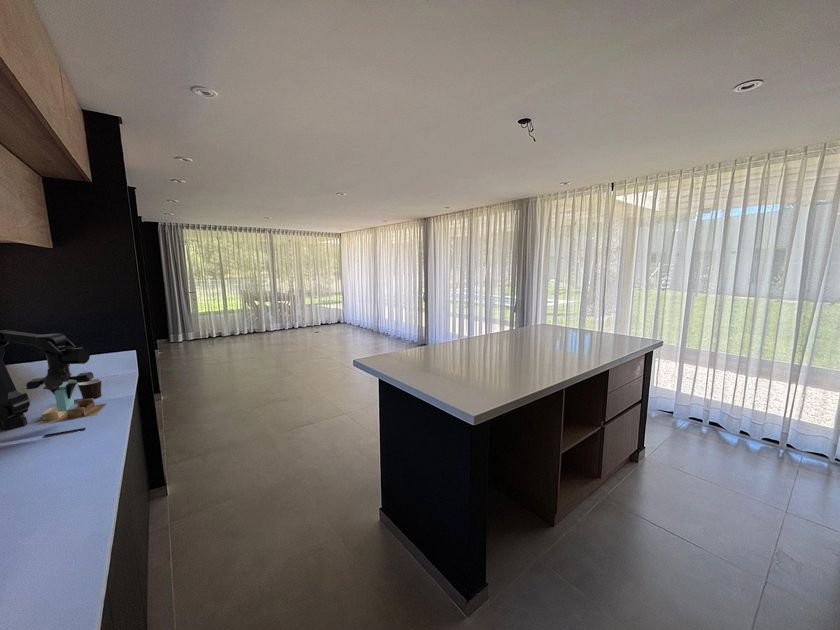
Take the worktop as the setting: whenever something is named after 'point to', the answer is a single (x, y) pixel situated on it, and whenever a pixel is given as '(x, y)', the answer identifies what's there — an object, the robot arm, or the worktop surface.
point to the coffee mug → (90, 389)
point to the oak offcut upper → (51, 412)
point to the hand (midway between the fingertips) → (64, 399)
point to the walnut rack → (78, 411)
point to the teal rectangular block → (63, 399)
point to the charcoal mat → (63, 432)
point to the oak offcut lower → (54, 416)
